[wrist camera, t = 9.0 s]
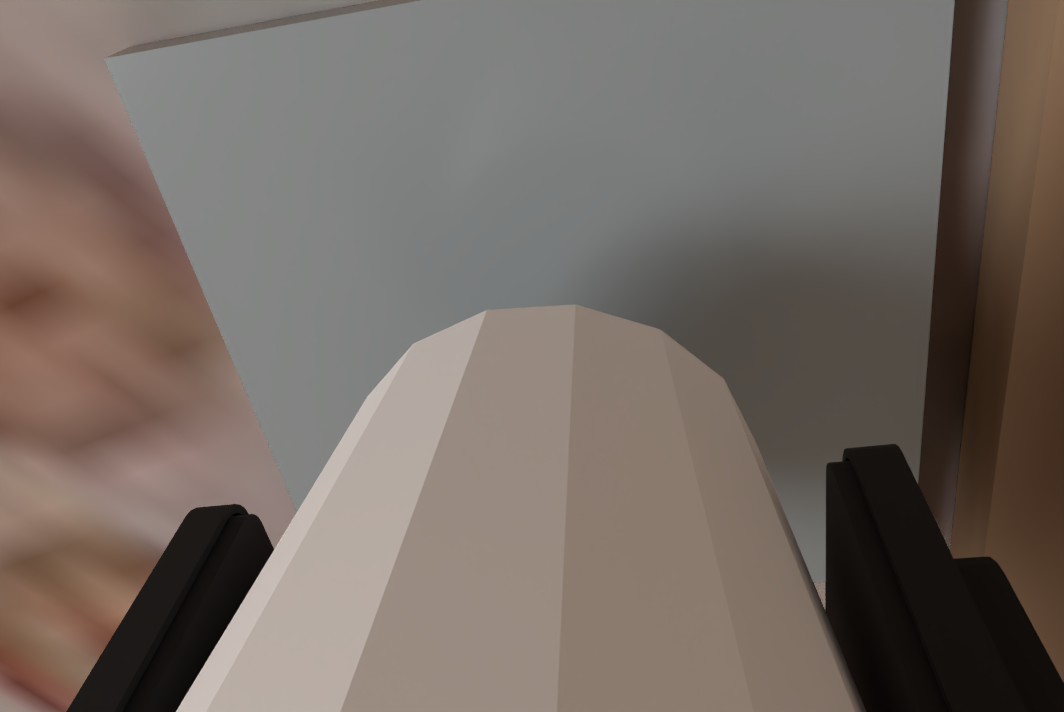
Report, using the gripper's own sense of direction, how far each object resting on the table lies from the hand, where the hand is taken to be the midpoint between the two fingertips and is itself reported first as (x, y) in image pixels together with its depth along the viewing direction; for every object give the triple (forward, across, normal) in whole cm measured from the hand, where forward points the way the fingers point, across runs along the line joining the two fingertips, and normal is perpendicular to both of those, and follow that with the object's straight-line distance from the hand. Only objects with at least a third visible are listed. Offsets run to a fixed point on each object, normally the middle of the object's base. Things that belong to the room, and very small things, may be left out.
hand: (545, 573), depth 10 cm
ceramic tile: (+6, 0, 0) cm, 6 cm away
